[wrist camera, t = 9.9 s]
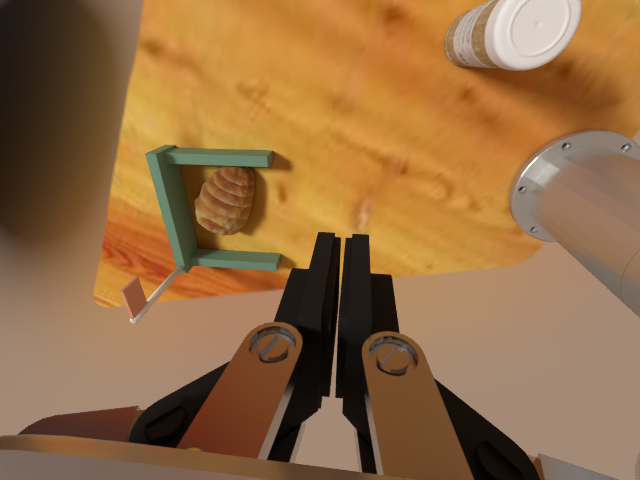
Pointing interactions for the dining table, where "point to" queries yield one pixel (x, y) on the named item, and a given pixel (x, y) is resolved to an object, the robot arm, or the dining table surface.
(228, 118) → the dining table surface
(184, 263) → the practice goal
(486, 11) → the sprinkles bottle
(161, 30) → the dining table surface
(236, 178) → the pastry
